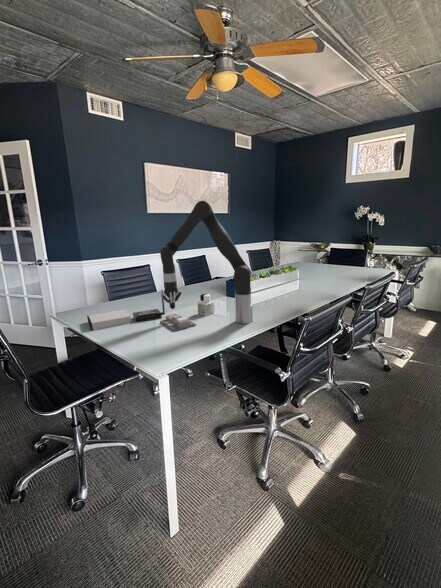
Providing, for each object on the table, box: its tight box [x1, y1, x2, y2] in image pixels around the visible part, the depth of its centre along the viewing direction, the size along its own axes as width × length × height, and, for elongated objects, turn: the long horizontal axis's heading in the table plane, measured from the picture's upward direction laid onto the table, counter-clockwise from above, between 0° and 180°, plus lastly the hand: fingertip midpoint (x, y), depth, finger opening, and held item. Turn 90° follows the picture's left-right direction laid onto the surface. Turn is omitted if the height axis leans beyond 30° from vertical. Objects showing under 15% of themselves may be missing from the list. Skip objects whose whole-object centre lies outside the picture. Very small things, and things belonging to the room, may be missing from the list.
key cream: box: [177, 316, 188, 323], centre depth 169 cm, size 4×4×2 cm
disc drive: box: [86, 309, 132, 331], centre depth 182 cm, size 18×22×5 cm
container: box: [197, 293, 215, 317], centre depth 192 cm, size 8×8×13 cm
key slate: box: [172, 314, 183, 321], centre depth 174 cm, size 4×4×2 cm
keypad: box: [159, 313, 197, 332], centre depth 174 cm, size 14×19×4 cm
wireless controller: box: [132, 290, 166, 323], centre depth 187 cm, size 20×14×17 cm
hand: (172, 308), depth 177 cm, fingers closed
